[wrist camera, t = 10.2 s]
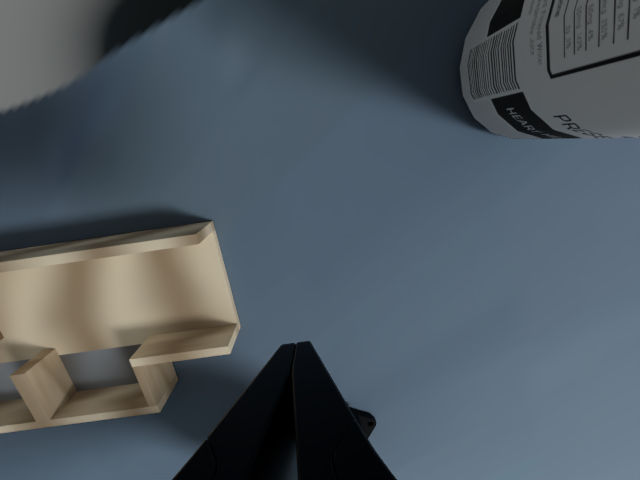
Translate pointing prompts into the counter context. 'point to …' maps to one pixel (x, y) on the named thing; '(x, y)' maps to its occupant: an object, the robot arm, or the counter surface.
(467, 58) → the supplement can
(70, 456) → the counter surface
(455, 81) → the counter surface
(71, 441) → the counter surface
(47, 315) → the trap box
